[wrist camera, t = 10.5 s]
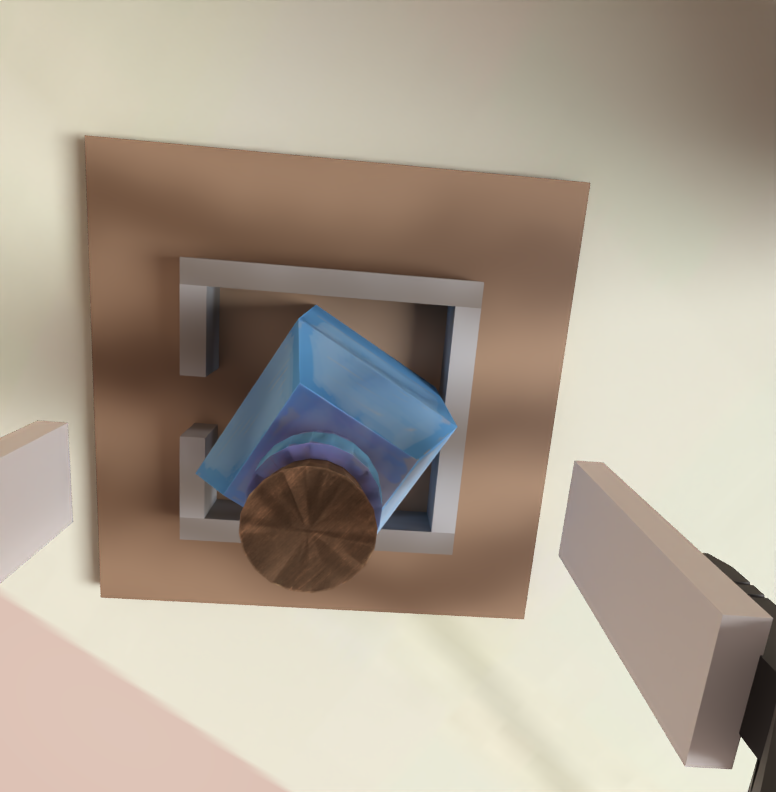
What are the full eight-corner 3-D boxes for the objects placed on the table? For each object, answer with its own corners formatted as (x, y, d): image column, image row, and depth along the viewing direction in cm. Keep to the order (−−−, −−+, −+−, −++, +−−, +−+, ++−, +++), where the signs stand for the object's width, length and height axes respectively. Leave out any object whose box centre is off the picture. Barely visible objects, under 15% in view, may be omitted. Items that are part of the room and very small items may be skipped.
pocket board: (96, 140, 23) (56, 122, 20) (581, 186, 24) (611, 175, 21) (110, 585, 27) (79, 624, 24) (518, 606, 28) (535, 646, 25)
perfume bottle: (315, 304, 24) (266, 343, 12) (435, 387, 25) (496, 497, 13) (237, 422, 25) (120, 563, 13) (355, 497, 26) (344, 691, 14)
